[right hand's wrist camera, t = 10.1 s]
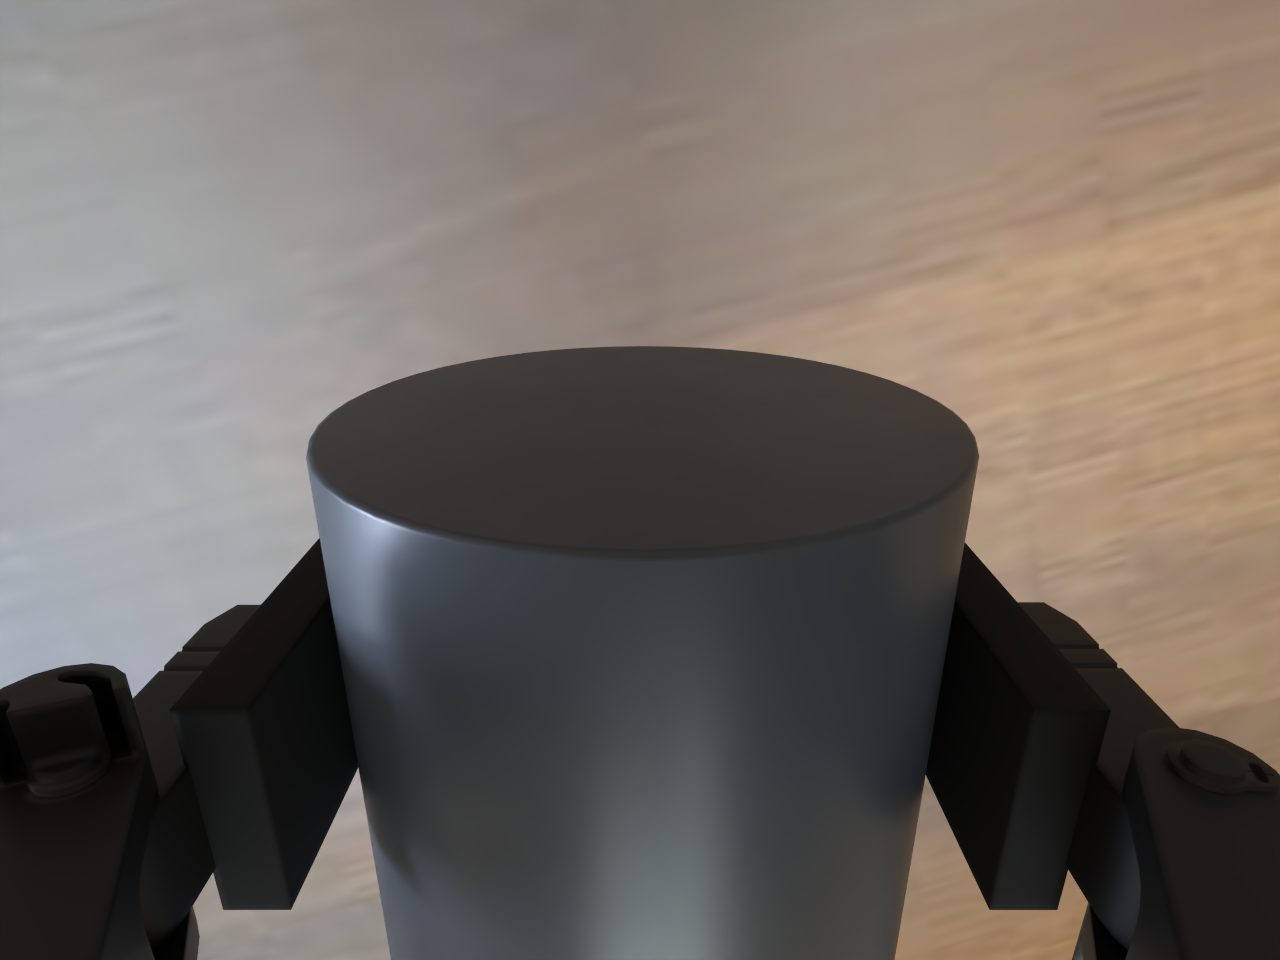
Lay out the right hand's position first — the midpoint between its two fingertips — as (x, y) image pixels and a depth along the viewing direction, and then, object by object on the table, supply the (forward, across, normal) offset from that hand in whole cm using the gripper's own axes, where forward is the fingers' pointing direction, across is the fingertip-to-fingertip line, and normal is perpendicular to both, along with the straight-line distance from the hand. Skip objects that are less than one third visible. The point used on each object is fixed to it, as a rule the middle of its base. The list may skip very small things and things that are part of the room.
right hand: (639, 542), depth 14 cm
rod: (+1, 0, -8) cm, 8 cm away
